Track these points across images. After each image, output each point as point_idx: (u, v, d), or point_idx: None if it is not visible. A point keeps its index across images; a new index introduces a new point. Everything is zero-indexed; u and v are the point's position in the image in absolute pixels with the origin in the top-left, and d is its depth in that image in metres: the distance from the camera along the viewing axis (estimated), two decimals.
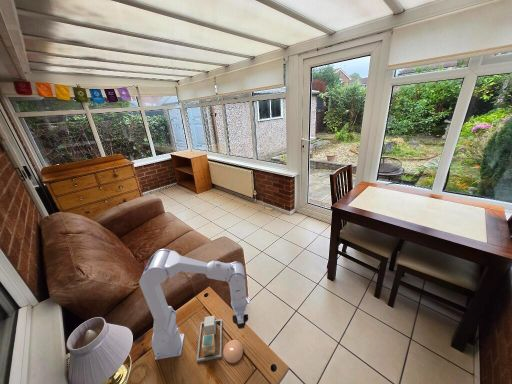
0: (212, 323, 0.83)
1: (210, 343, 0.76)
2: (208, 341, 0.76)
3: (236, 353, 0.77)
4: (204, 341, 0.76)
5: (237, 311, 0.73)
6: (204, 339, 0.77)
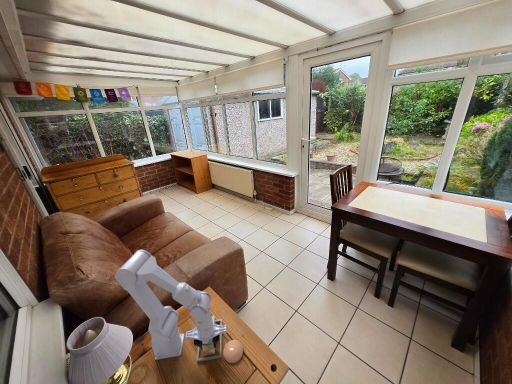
0: None
1: (210, 343, 0.76)
2: None
3: (236, 353, 0.77)
4: None
5: (196, 331, 0.75)
6: None
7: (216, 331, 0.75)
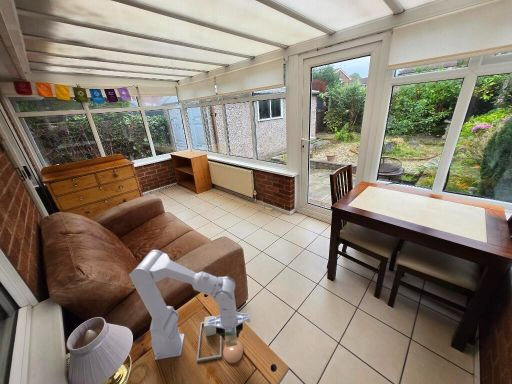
0: None
1: (233, 333, 0.72)
2: None
3: (236, 353, 0.77)
4: None
5: (218, 319, 0.71)
6: None
7: (239, 319, 0.71)
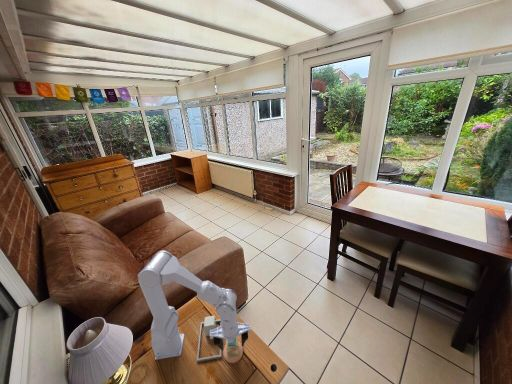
0: (212, 323, 0.83)
1: (234, 343, 0.74)
2: (232, 342, 0.75)
3: None
4: None
5: (220, 329, 0.73)
6: None
7: (240, 330, 0.73)
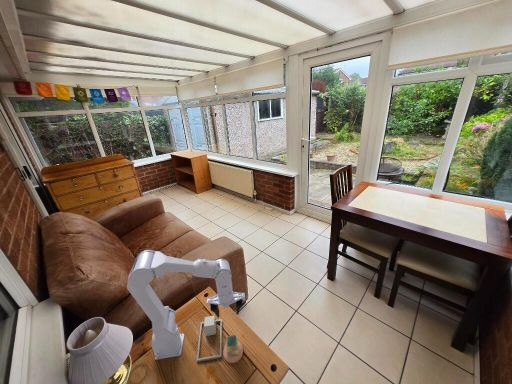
0: (212, 323, 0.83)
1: (234, 343, 0.74)
2: (232, 342, 0.75)
3: None
4: (228, 342, 0.75)
5: (216, 297, 0.79)
6: (228, 340, 0.76)
7: (235, 298, 0.79)
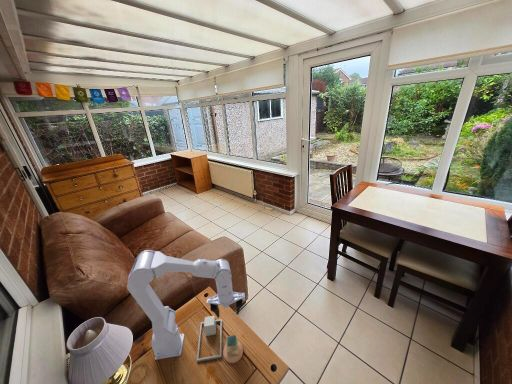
0: (212, 323, 0.83)
1: (234, 343, 0.74)
2: (232, 342, 0.75)
3: None
4: (228, 342, 0.75)
5: (216, 297, 0.79)
6: (228, 340, 0.76)
7: (235, 297, 0.79)
